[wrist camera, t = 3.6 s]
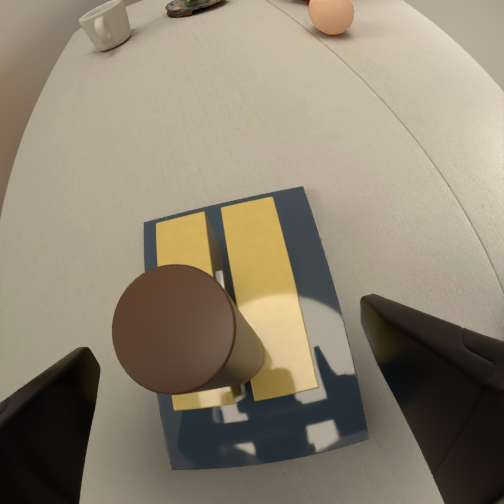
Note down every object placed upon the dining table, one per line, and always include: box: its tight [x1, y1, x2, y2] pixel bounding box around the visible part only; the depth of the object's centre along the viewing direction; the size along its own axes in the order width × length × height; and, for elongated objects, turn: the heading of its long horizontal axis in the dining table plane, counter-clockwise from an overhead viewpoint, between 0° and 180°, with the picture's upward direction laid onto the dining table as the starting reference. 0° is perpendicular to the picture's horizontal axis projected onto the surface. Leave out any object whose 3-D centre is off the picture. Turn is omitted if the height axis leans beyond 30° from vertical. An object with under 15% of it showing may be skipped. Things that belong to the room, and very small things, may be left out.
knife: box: [112, 264, 264, 395], centre depth 10 cm, size 5×2×11 cm, turn 11°
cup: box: [79, 0, 131, 51], centre depth 33 cm, size 11×8×8 cm
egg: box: [308, 0, 354, 35], centre depth 26 cm, size 6×6×8 cm
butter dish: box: [144, 186, 369, 470], centre depth 14 cm, size 16×11×5 cm
